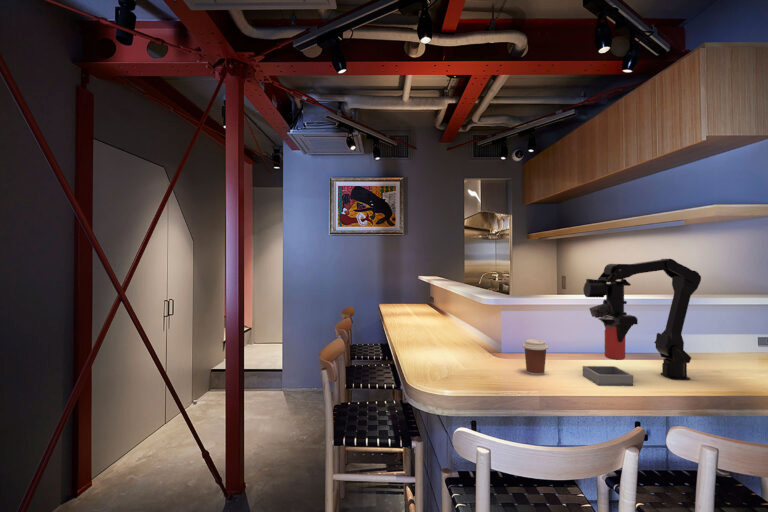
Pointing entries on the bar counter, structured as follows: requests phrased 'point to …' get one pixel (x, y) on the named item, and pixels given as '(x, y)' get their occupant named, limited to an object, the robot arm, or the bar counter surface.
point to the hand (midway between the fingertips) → (614, 340)
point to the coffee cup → (535, 356)
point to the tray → (607, 376)
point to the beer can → (613, 344)
